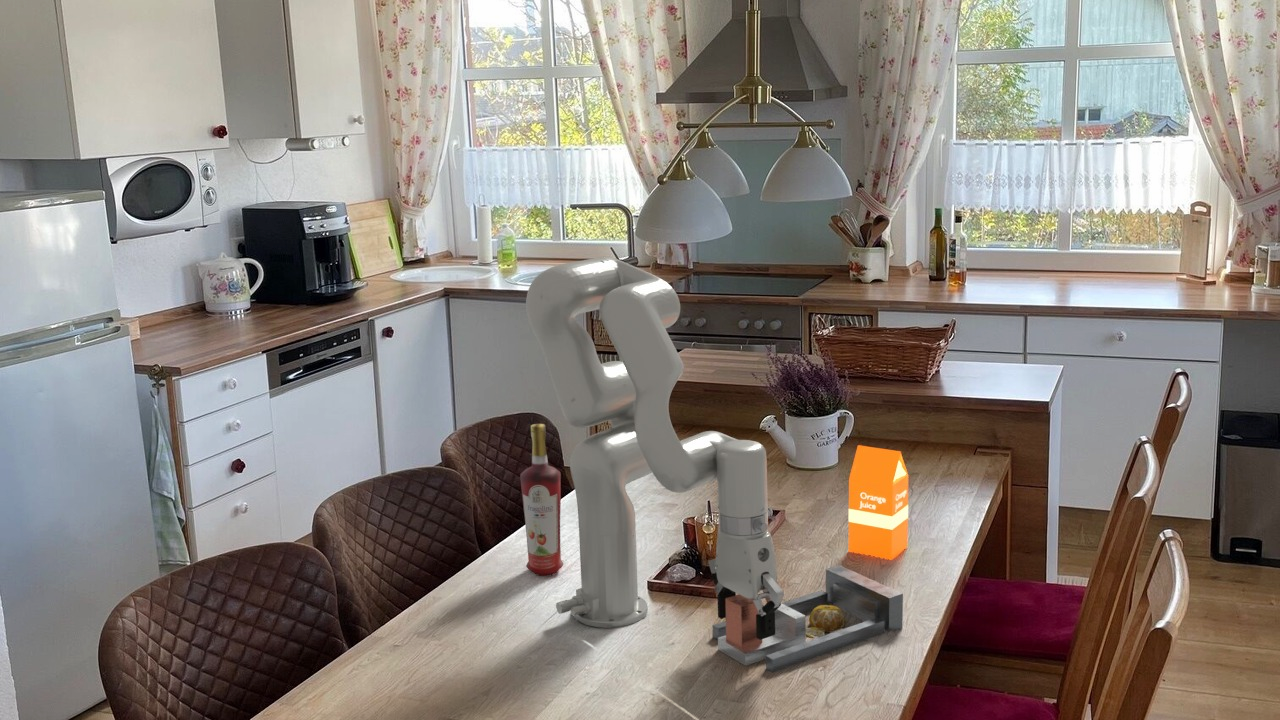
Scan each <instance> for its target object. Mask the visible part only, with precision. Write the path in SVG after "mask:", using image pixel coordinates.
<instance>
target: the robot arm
mask: <svg viewBox="0 0 1280 720" xmlns="http://www.w3.org/2000/svg"><path fill="white" fill-rule="evenodd" d="M525 309H526V316H527V321H528V323H529V325H530V328H531V330H532V333H533V335H534V336H535V338H536V340H537V343H538V345H539V347H540V349H541V352H542V355H543V358H544V359H545V363H546V364H545V365H546V366H547V370H548V375H549V376H550V379H551V383H552V386H553V389H554V392H555V395H556V400H557V401H558V405H559V407H560V410H561V412H562V416H563V417H564V419H565V421H566V422H568V424H569V425H571V426H572V427H575V428H578V429H579V428H580V429H583V428H584V429H585V428H589V427H593V426H597V425H600V424H602V423H607V422H609V424H610V427H611V428H608V429H606V430H603V431H600V432H597V433H594V434H592V435H590V436H588V437H586V438H584V439H582V440H581V441H580V442H579V443H577V445H576V446H574V448H573V450H572V452H571V455H570V459H569V469H570V475H571V478H572V483H573V486H574V490H575V496H576V503H577V518H578V521H577V523H578V536H579V537H578V538H579V556H580V559H579V560H580V563H579V564H580V581H581V582H580V583H581V584H580V585H581V588H576V589H575V595H573V596H572V598H571V599H565V600H561V601H557V602H556V603H555V608H556V611H557V613H558V614H560V615H561V614H565V613H568V612H570V613H571V615H572V616H574V618H575V619H576V620H577V622H580V623H581V624H584V625H586V626H590V627H595V628H604V629H605V628H606V629H607V628H610V629H612V628H620V627H625V626H628V625H633V624H635V623H637V622H639V621H641V620H643V619H644V618H645V617H646V616H647V614H648V608H649V607H648V603H647V602H646V600H645V599H644V598H643V597H640V596H639V592H638V591H639V589H638V588H639V587H638V562H637V561H638V560H637V558H638V557H637V533H636V532H637V531H636V525H637V524H636V512H635V507H634V503H633V502H632V500H631V498H630V496H629V495H628V493H627V490H626V485H628V484H630V483H632V482H634V481H636V480H639V479H641V478H644V477H646V476H648V475H651V473H652V474H653V476H654V477H655V479H656V481H658V482H659V484H660V485H661V486H662V487H663V488H664V489H666V490H668V491H670V492H673V493H678V494H681V493H687V492H688V491H689V492H690V491H691V490H694V489H696V488H698V487H701V486H703V485H705V484H707V483H710V482H711V483H712V482H715V481H717V507H718V510H717V511H718V513H717V514H718V530H717V536H716V549H715V550H716V552H715V553H716V554H715V556H716V557H715V558H713V559H710V560H708V565H709V569H710V572H711V580H712V581H713V583H714V585H715V586H714V592H715V594H717V595H716V597H717V598H716V599H717V618H719V619H721V620H722V619H726V598H729V597H732V596H735V595H739V594H740V595H742V596H744V597H746V598H748V599H750V600H753V601H754V604H755V606H756V608H757V610H758V612H759V614H757V615H756V636H757V639H759V640H762V639H765V638H767V637H770V636H773V635H775V612H777V610H778V608H779V607H780V606H781V603H782V600H783V599H784V595H785V593H784V590H782V588H781V587H780V586H779V584H778V573H777V561H776V554H775V553H776V552H775V547H774V543H773V537H772V535H771V534H772V533H771V532H769V510H768V505H769V504H768V503H769V502H768V471H767V470H768V463H767V450H766V448H765V447H764V445H763V444H761V443H760V442H758V441H754V440H749V439H737V438H736V437H735V438H734V437H731V436H729V435H727V434H724V433H722V432H719V431H715V430H708V431H707V430H706V431H702V432H700V433H696V434H694V435H692V436H689V437H686V438H684V439H681V440H680V439H679V437H678V435H677V433H676V431H675V429H674V427H673V424H672V421H671V417H670V411H669V410H670V409H669V404H670V397H671V394H672V391H673V389H674V387H675V385H676V383H677V382H678V380H679V379H680V378H681V376H682V375H683V373H684V369H685V365H684V362H683V360H682V358H681V356H680V355H679V353H678V351H677V348H676V347H675V345H674V343H673V341H672V339H671V337H670V335H669V333H668V332H667V330H666V329H667V328H670V327H672V326H673V325H674V324H676V322H677V321H678V319H679V317H680V313H681V303H680V298H679V296H678V294H677V292H676V291H675V289H674V287H672V285H670V284H669V283H668V282H667V281H665V280H664V279H662V278H660V277H658V276H657V275H654V274H653V273H650V272H647V271H645V270H643V269H641V268H639V267H638V266H637V267H636V266H634V265H632V264H630V263H628V262H624V261H623V260H620V259H617V258H615V257H610V256H601V257H594V258H589V259H584V260H577V261H572V262H565V263H561V264H557V265H554V266H552V267H550V268H547V269H545V270H544V271H542V272H540V273H538V275H537V276H536V277H535V278H533V281H532V282H531V284H530V285H529V288H528V290H527V294H526V299H525ZM593 311H599V318H600V320H601V323H602V325H603V327H604V329H605V331H606V333H607V335H608V337H609V339H610V341H611V343H612V345H613V347H614V349H615V350H616V352H617V353H616V354H617V355H618V357H619V359H620V360H612V361H607V362H603V363H601V361H600V359H599V356H598V353H597V351H596V350H597V349H596V346H595V343H594V341H593V339H592V337H591V335H590V333H589V332H588V331H587V330H586V328H585V327H584V326H583V325H582V324H581V323H580V322H578V320H576V317H577V316H578V315H580V314H584V313H589V312H593ZM761 591H762V592H761ZM760 592H761V593H760ZM763 599H765V601H766V603H765V604H763V601H761V600H763Z"/></svg>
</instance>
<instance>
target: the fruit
mask: <svg viewBox="0 0 1280 720" xmlns="http://www.w3.org/2000/svg"><path fill="white" fill-rule="evenodd" d="M843 612H844V611H842V610H840V609H839V608H838V607H836V606H833V604H829V605H820V606H817V607H815V608H814V609H813V610H811V613H810V614H809V617H808V618H809V619H808V621H809V625H810V627H806V637H808V638H810V639H815V638H814V636H815V637H817V636H818V637H822V636H825V635H826V633H829V634H830V633H833V632H836V631H839V630H842V629H844V627H845V625H846V618H845V615H844V613H843Z"/></svg>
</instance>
